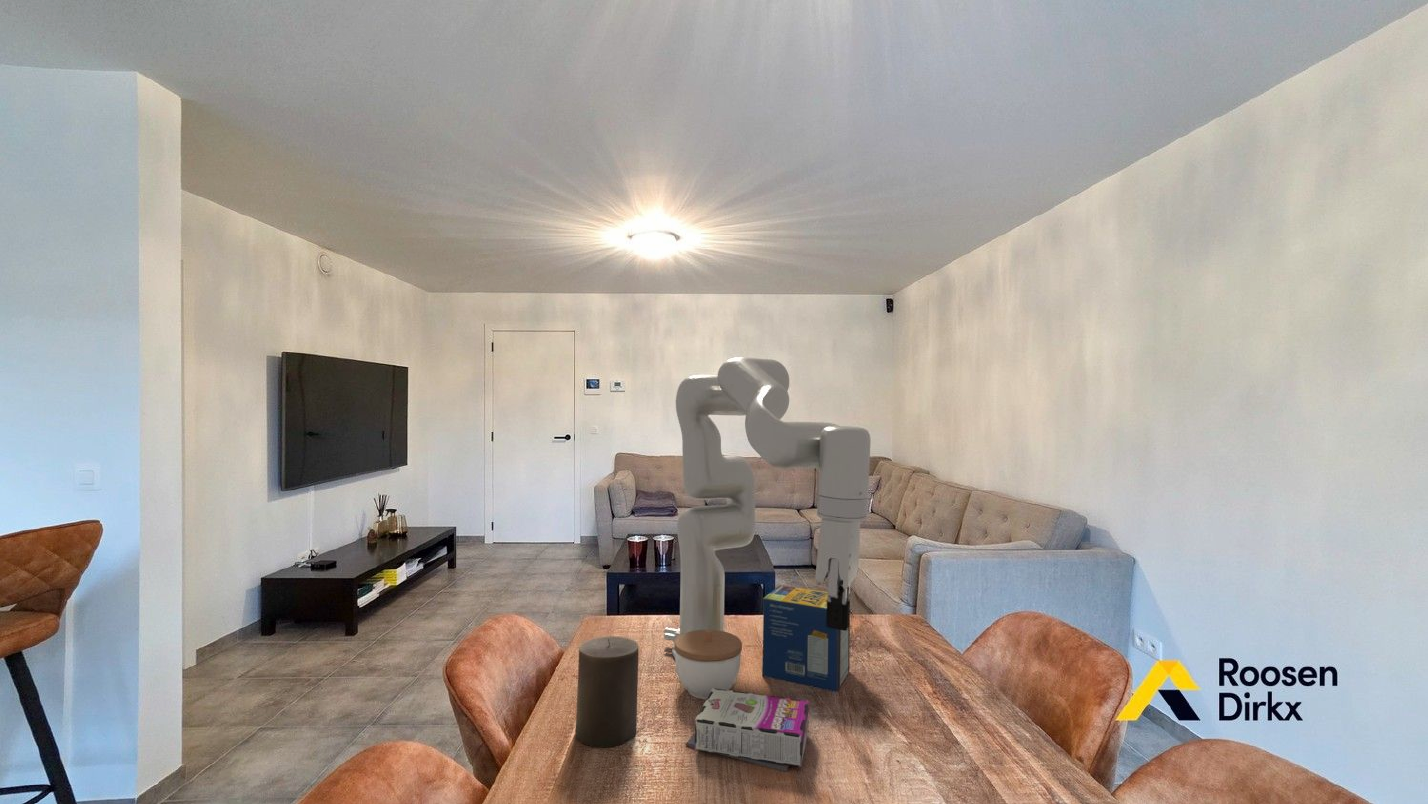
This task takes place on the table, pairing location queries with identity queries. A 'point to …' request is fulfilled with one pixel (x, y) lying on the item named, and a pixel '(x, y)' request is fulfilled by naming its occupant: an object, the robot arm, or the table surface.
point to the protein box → (803, 640)
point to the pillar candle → (607, 691)
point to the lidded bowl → (707, 661)
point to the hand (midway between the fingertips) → (837, 626)
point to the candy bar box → (753, 726)
